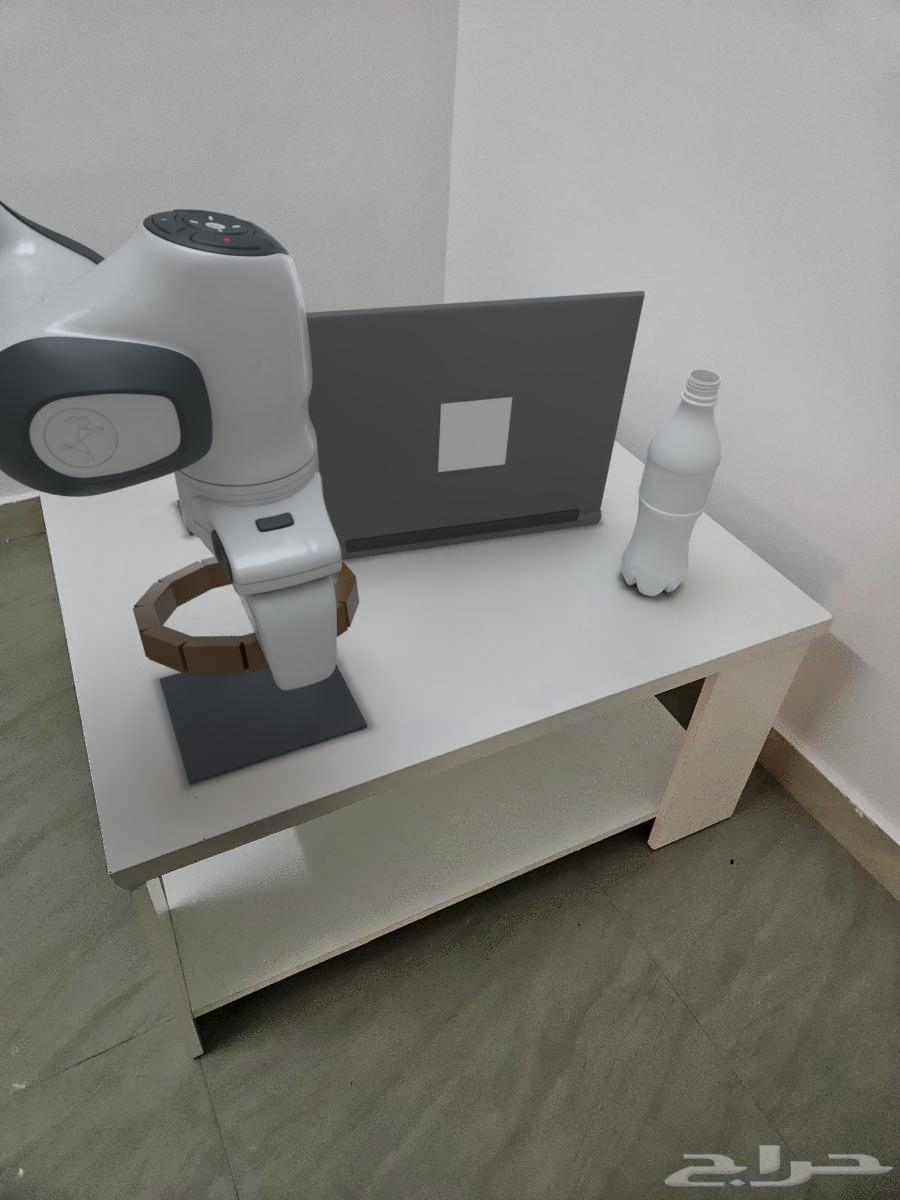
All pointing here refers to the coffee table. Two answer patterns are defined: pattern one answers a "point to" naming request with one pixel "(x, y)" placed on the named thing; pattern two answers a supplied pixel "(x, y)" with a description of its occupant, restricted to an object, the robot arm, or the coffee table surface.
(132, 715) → the coffee table surface
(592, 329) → the laptop
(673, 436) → the water bottle
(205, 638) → the hoop
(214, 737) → the mat
